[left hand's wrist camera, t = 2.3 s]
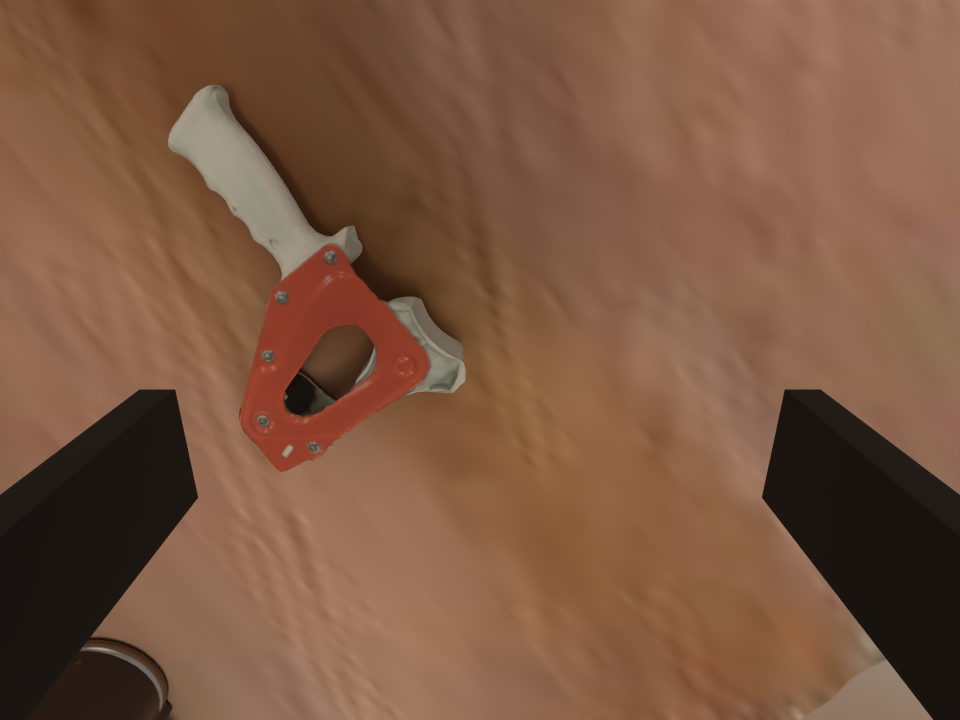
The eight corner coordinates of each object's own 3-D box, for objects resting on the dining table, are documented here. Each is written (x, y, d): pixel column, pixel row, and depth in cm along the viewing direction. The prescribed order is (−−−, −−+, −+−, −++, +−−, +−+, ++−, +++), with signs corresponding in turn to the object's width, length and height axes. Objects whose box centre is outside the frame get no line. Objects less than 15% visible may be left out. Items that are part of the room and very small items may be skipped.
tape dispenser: (204, 85, 32) (184, 411, 38) (148, 66, 27) (136, 446, 33) (512, 152, 33) (446, 464, 39) (514, 146, 28) (438, 507, 33)
